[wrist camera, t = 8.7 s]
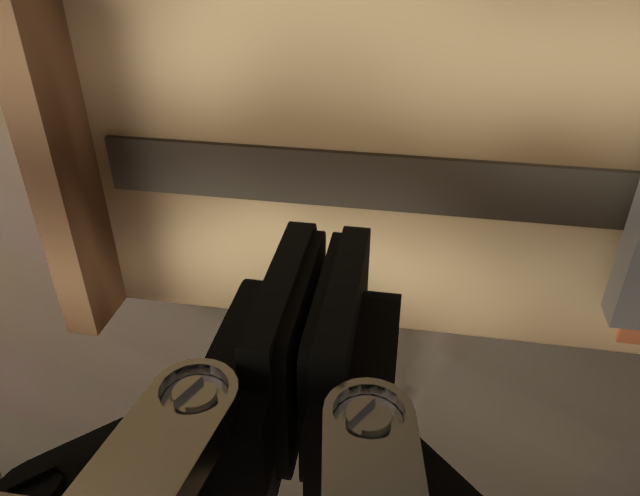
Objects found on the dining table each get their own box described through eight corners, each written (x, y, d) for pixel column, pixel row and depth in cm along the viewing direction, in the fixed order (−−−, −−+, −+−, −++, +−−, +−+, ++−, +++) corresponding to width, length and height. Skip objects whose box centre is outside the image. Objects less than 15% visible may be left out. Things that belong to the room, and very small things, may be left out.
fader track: (785, 328, 19) (860, 428, 15) (125, 262, 22) (67, 332, 18) (971, -20, 13) (1147, 17, 10) (62, -39, 17) (-35, -17, 13)
